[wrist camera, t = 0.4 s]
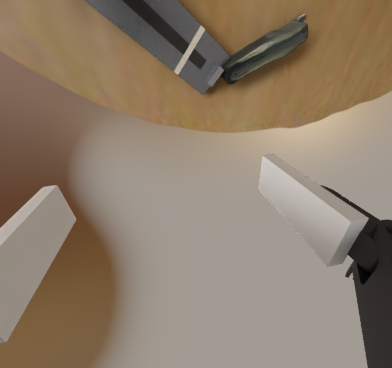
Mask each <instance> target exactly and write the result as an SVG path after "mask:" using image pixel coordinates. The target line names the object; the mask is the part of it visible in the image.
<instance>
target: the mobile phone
mask: <svg viewBox="0 0 392 368" xmlns="http://www.w3.org/2000/svg"><path fill="white" fill-rule="evenodd" d="M305 16H306V15H305V13H304V14H302V15H300V16H299V17H297V18H296V19H295V20H293V21H292V22H290V23H288V24H287V25H285V26H283V27H282V28H280V29H278V30H274V31H271V32H269V33H267V34H266V35H264V36H263V37H261V38H260V39H258V40H256V41H255V42H253V43H251V44H249V45H248V46H246V47H245V48H243V49H242V50H240V51H239V52H237V53H235V54H234V55H232V56H230V57H231V58H230V59H229V61H228V62H227V63H226V65H225V66H224V68H223V70H224V71H223V72H222V74H221V75H222V78H224V79H225V81H226V82H227V83H228V84H233V83H235V82H236V81H238V80H239V79H241V78H243V77H244V76H246V75H248V74H249V73H251V72H253V71H255V70H256V69H258V68H260V67H262V66H263V65H265V64H267V63H269V62H271V61H273V60H276V59H278V58H280V57H283V56H285V55H287V54H289V53H290V52H292V51H293V50H295V49H296V48H297V47H298V46H299V45H300V44H301V43H302V42H304V41H305V40H306V39H307V37H308V25H307V23H303V22H299V21H301V20H302V19H304V18H305Z"/></svg>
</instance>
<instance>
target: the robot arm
mask: <svg viewBox="0 0 392 368" xmlns="http://www.w3.org/2000/svg"><path fill="white" fill-rule="evenodd" d="M258 190H259V191H260V192H261V193H262V194H263V195H264V196H265V197H266V198H267V200H268V201H269V202H270V203H271V204H272V205H273V206H274V207H275V208H276V210H277V211H278V212H279V213H280V214H281V215H282V216H283V217H284V219H285V220H286V221H287V222H288V223H289V224H290V225H291V226H292V228H293V229H294V230H295V231H296V232H297V233H298V234H299V235H300V237H301V238H302V239H303V240H304V241H305V242H306V243H307V244H308V246H310V248H311V249H312V250H313V251H314V252H315V253H316V254H317V256H318V257H319V258H320V259H321V260H322V261H323V262H324V263H325V264H326V266H327V267H329V266H333V265H338V264H342V263H343V262H344V260H345V258H346V257H347V255H349V256H350V257H351V258H352V259H353V260H354V261H353V263H352V264H351V266H350V267H349V269H348V271H347V272H346V276H345V277H349V276H350V274H351V273H352V272H353V280H354V283H355V290H356V296H357V303H358V309H359V315H360V321H361V327H362V333H363V340H364V346H365V352H366V359H367V365H368V368H392V220H381V221H380V220H379V219H377V218H376V217H374V216H373V215H371V214H369V213H368V212H366V211H365V210H363V209H361V208H360V207H359V206H357V205H356V204H354V203H352V202H351V201H350V202H349V200H348V199H346V198H345V197H342V196H341V195H340V194H338V193H337V192H335V191H334V190H332V189H330V188H327V187H325V186H322V185H318V184H317V183H316V182H314V181H312V180H311V179H309V178H308V177H307V176H305V175H304V174H302V173H301V172H299V171H298V170H296V169H295V168H293V167H291V166H290V165H289V164H287V163H286V162H284V161H283V160H281V159H280V158H278V157H277V156H275V155H274V154H270V155H263V157H262V164H261V171H260V179H259V186H258ZM75 221H76V218H75V216H74V214H73V213H72V211H71V209H70V207H69V206H68V204H67V202H66V200H65V198H64V197H63V195H62V193H61V192H60V190H59V188H58V186H57V185H54V186H47V187H43V188H42V189H41V190H40V191H39V192H38V193H36V194H35V195H34V196H33V197H32V198H31V199H30V200H29V201H28V202H27V203H26V204H25V205H24V206H23V207H22V208H21V209H20V210H19V211H18V212H17V213H16V214H15V215H14V216H12V217H11V219H9V220H8V221H7V222H6V223H5V224H4V225H3V226H2V227H1V228H0V343H3V342H6V341H7V340H8V338H9V336H10V335H11V333H12V331H13V330H14V328H15V326H16V324H17V322H18V321H19V319H20V317H21V316H22V314H23V312H24V310H25V309H26V307H27V305H28V303H29V301H30V300H31V298H32V296H33V294H34V293H35V291H36V289H37V287H38V286H39V284H40V282H41V280H42V279H43V277H44V275H45V273H46V272H47V270H48V268H49V266H50V264H51V263H52V261H53V259H54V258H55V256H56V254H57V252H58V251H59V249H60V247H61V245H62V244H63V242H64V240H65V238H66V237H67V235H68V233H69V231H70V229H71V228H72V226H73V224H74V223H75Z"/></svg>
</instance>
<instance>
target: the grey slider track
mask: <svg viewBox="0 0 392 368" xmlns="http://www.w3.org/2000/svg"><path fill="white" fill-rule="evenodd" d="M85 1H86V2H87V3H88V4H90V5H91V6H92V7H93V8H95V9H96V10H97V11H98V12H100V13H101V14H102V15H103V16H105V17H106V18H107V19H108V20H110V21H111V22H112V23H113V24H115V25H116V26H117V27H119V28H120V29H121V30H122V31H124V32H125V33H126V34H127V35H129V36H130V37H131V38H132V39H134V40H135V41H136V42H137V43H139V44H140V45H141V46H142V47H144V48H145V49H146V50H147V51H149V52H150V53H151V54H153V55H154V56H155V57H156V58H158V59H159V60H160V61H161V62H163V63H164V64H165V65H166V66H168V67H169V68H170V69H171V70H173V71H174V72H175V73H176V74H178V75H179V76H180V77H181V78H183V79H184V80H185V81H186V82H188V83H189V84H190V85H192V86H193V87H194V88H195V89H197V90H198V91H199V92H200V93H202V94H203V95H204V94H205V93H206V91H207V90H208V88H209V87H210V86H211V87H212V86H213V85H214V83H215V82H216V81H217V79H218V78H219V77H220V75H221V74H222V72H223V71H224V70H223V68H224V66H225V65H226V63H227V62H228V61H229V59H230V58H231V57H230V56H229V55H228V54H227V52H226V51H225V50H224V49H223V48H222V47H221V46H220V45H219V44H218V43H217V42H216V41H215V40H214V39H213V37H212V36H211V35H210V34H209V33H208V32H207V31H206V30H205V29H204V28H203V27H202V25H200V23H199V22H198V21H197V20H196V19H195V18H194V17H193V16H192V15H191V14H190V13H189V12H188V11H187V9H186V8H185V7H184V6H183V5H182V4H181V3H180V2H179V1H178V0H85Z"/></svg>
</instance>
